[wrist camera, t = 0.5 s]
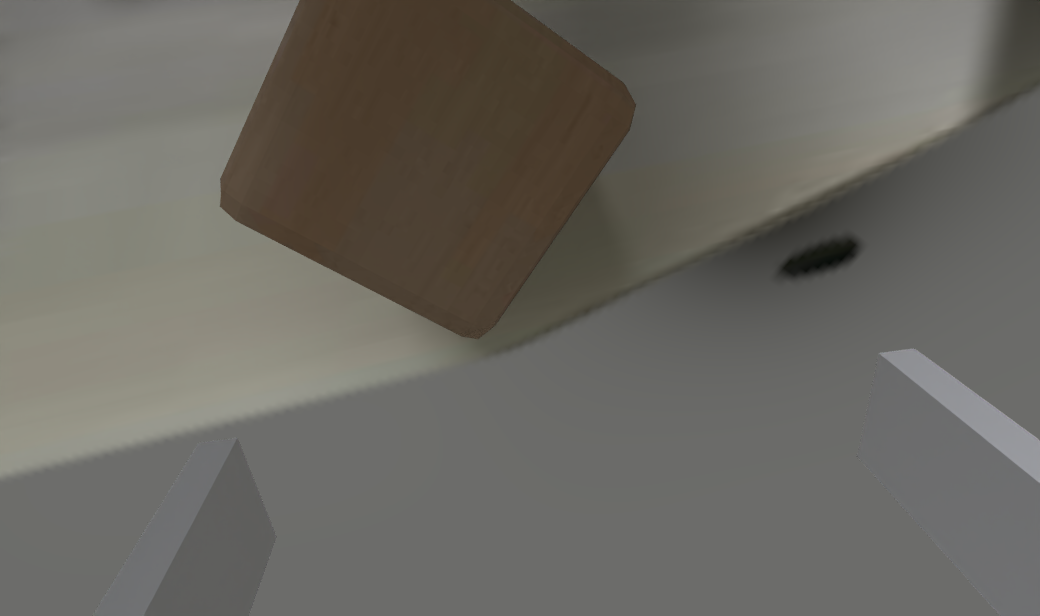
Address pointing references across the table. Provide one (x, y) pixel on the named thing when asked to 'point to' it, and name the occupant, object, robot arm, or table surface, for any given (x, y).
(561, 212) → the wooden block
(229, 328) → the table surface
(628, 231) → the table surface
